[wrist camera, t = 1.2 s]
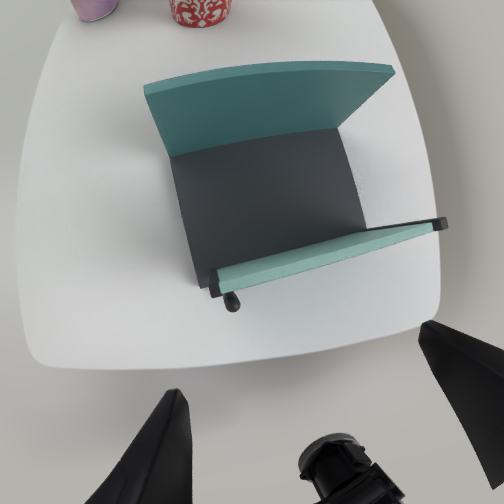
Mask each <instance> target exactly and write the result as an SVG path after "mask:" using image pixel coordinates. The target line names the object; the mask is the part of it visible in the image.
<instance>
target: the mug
mask: <svg viewBox="0 0 504 504" xmlns="http://www.w3.org/2000/svg"><path fill="white" fill-rule="evenodd" d="M169 1H170V6H171V12H172V16H173V18H174V20H175V21H176V22H178V23H179V24H181V25H184V26H187V27H198V28H199V27H208V26H212V25H215V24H217V23H219V22H221V21H223V20H224V19H225V18H226V17H227V15H228V13H229V10H230V5H231V0H169Z"/></svg>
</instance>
